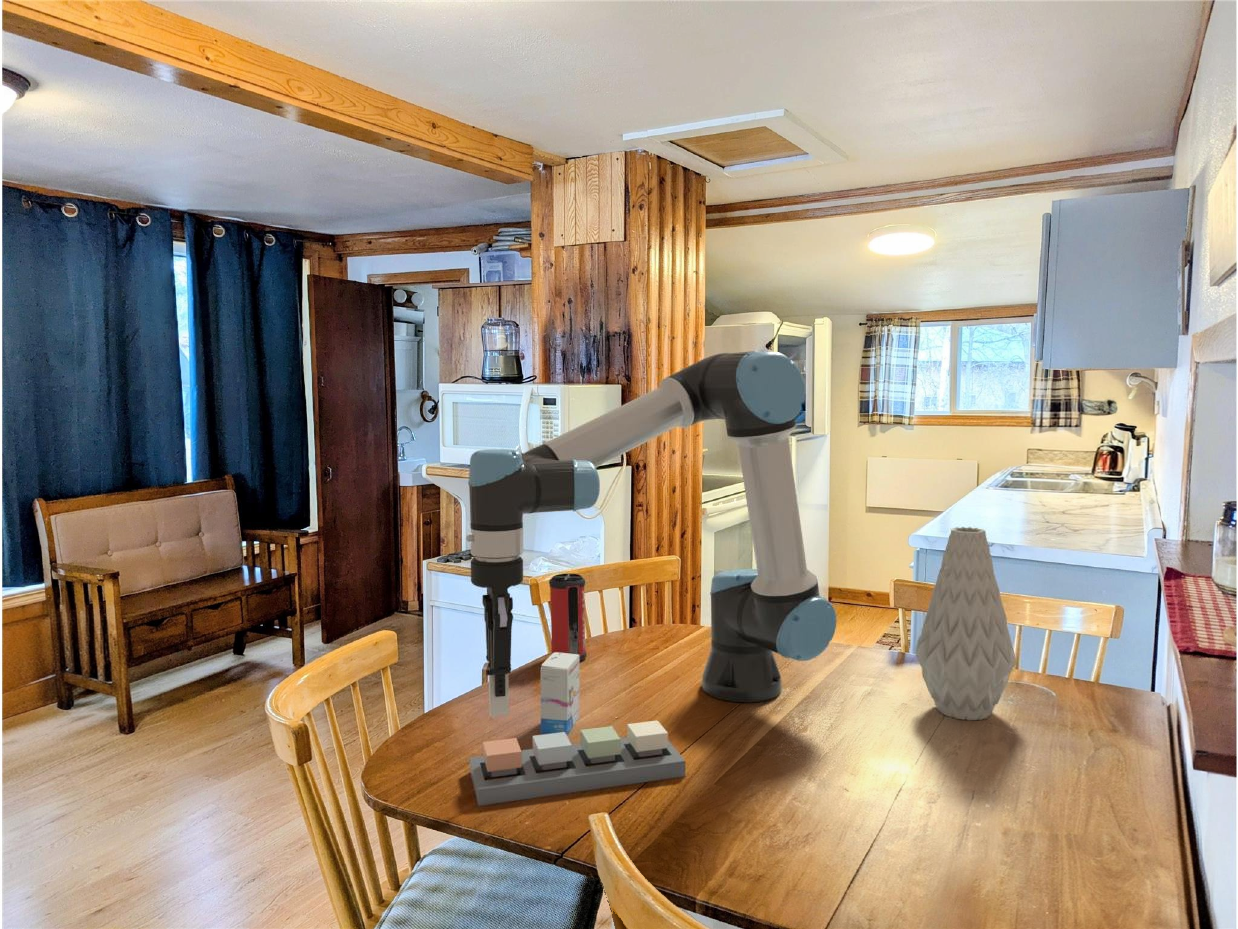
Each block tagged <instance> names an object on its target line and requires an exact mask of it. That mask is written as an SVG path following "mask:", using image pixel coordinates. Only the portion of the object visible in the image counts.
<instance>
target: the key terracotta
mask: <svg viewBox="0 0 1238 929" xmlns="http://www.w3.org/2000/svg"><path fill="white" fill-rule="evenodd" d="M482 749H483V750H482V752H483V754H482V755H483V758H484V761H485V765H486V768H487V772H491V775H492V777H491V778H494V777H501V776H508V775H509V776H511V775H517V774H518V773H517V770H516V768H520V767H522V751H521V747H520V744H519V742H518V739H517V737H514V738H512V737H511V738H506V739H497V740H489V741H483V742H482Z"/></svg>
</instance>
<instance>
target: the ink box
mask: <svg viewBox="0 0 1238 929" xmlns="http://www.w3.org/2000/svg"><path fill="white" fill-rule="evenodd" d="M579 718H580V661H579V655H578V654H568V653H558V652H555V653H553V654H552V655H551V654H550V656H549V657H547V658H546V659H545V661H544V662H542V664H541V667H540V735H544V734H552V733H560V732H565V733H566V735H567V736H568V735H569V733H570V732H571V731H572V728H573V727H574V725H575V724H576V722H577V721H578V719H579Z"/></svg>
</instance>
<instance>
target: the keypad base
mask: <svg viewBox="0 0 1238 929" xmlns="http://www.w3.org/2000/svg"><path fill="white" fill-rule="evenodd" d="M620 739H621V754H618V755H615V761H614V762H609V763H604V764H597V765H589V766H586V765H588V764H592V763H591V761H590V759H589V758H588V757H587V755H586V753H585V751H584V750H583V748H582V746H581V742H578V743H571V744H572V761H567V769H560V770H553V771H545V772H539V773H538V772H536V771H544V770H543V769H542V767H541V765H539V764H538V762H537V760H536V757H535V755H534V753H533V748H529V749H523V750H521V751H522V767H520V768H516V770H517V774H519V775H516V776H509V777H500V778H499V777H498V778H494V779H486V780H485V778H493V777H492V775H491V772H487V768H486V765H485V761H484V758H483V754H482V755H475V756H474V755H473V756H469V767H470V768H469V772H470V777H471V781H472V785H473V789H474V792H475V797H476V802H477V806H478V807H479V806H487V805H494V804H500V803H508V802H514V801H521V800H522V801H523V800H529V799H530V800H531V799H535V798H543V797H550V796H556V795H557V796H558V795H564V794H571V793H576V792H577V793H578V792H584V791H591V790H599V789H605V788H612V787H619V786H620V787H621V786H626V785H634V784H640V783H641V784H642V783H647V782H654V781H661V780H668V779H676V778H683V777H686V760H685V758H684V757H683V756H682V755H681V754H680V752H679V751H678V750H677V749H676V748H675V747H674V745H673V744H672V742H671V741H670V740H669V739H668V748H663V749H662V754H659V755H660V756H657V757H654V756H653V757H649V758H640V757H639V755H638V754H637V753H636V751H635V750H634V748H633V746H632V745H631V743H630V742H629V741H628V739H627V736H625V737H620ZM634 758H640V759H634Z"/></svg>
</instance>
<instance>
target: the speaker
mask: <svg viewBox="0 0 1238 929" xmlns="http://www.w3.org/2000/svg"><path fill="white" fill-rule="evenodd" d="M548 584H549V591H550V592H549V593H550V619H551V620H550V626H551V628H550V629H551V632H550V634H551V638H550V639H551V641H550V644H551V650H550V651H551V654H550V656H551V655H552V654H553V653H555V652H558V653H568V654H578V655H579V662H582V661H584V660H585V659H586V658H587V649H586V609H585V608H586V606H585V605H586V603H585V600H586V598H585V596H586V595H585V586H586V579H585V578H584V577H582V575H580V574H577V573H571V572H570V573H569V572H568V573H558V574H555V575H552V577H551V578H550V579H549V580H548Z"/></svg>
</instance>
